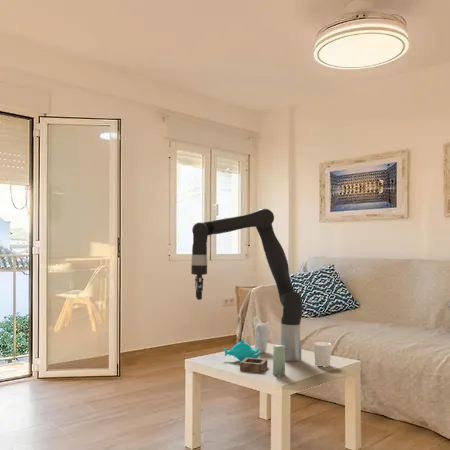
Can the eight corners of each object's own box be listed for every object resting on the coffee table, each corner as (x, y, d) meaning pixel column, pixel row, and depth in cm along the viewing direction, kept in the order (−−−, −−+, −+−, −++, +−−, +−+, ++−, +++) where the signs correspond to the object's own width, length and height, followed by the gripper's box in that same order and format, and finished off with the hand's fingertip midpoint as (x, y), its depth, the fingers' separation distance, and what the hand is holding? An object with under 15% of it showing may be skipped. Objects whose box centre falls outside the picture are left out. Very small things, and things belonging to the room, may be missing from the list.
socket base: (240, 370, 210) (240, 362, 210) (246, 365, 219) (246, 357, 219) (262, 372, 207) (262, 364, 207) (267, 367, 216) (267, 359, 216)
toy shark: (260, 364, 221) (261, 341, 222) (222, 363, 222) (222, 340, 222) (260, 359, 231) (260, 337, 231) (222, 358, 232) (223, 336, 232)
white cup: (331, 364, 224) (331, 342, 224) (331, 368, 216) (331, 345, 217) (314, 362, 226) (314, 341, 226) (313, 366, 218) (313, 344, 219)
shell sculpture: (271, 353, 244) (271, 318, 245) (255, 354, 242) (256, 318, 243) (266, 350, 252) (266, 315, 253) (251, 350, 250) (251, 316, 251)
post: (271, 375, 203) (272, 346, 203) (274, 372, 207) (274, 344, 208) (283, 376, 201) (283, 347, 202) (285, 373, 206) (286, 345, 206)
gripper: (208, 265, 221) (208, 300, 220) (205, 263, 235) (205, 297, 235) (192, 264, 220) (191, 300, 219) (190, 263, 234) (190, 297, 234)
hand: (198, 298), depth 227 cm, fingers open, 8 cm apart
